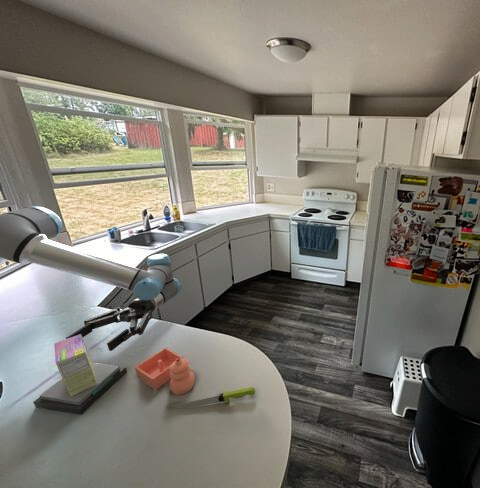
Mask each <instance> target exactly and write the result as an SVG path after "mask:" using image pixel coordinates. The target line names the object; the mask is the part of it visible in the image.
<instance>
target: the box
mask: <svg viewBox="0 0 480 488" xmlns="http://www.w3.org/2000/svg"><path fill="white" fill-rule="evenodd" d="M54 355H55V356H54V357H55V358H54V359H55V365H56V368H57V370H58V371H59V373H60V375H61V379H62V378H63V380H64V382H65V385H66V387H67V390H68V392H69V394H70V397H72V396H74V395H76V394H78V393H80V392H82V391H84V390H86V389H89V388H91V387H93V386H95V385H97V380H96V377H95V373H94V368H93V364H92V363H93V361H92V359H91V356H90V354H89V351H88V349H87V346H86V343H85V341H84V337H83V338H82V335H81V334H80V335H77V336H74V337H71V338H68V339H66V338H65V339H61V340H59V341H57V342H55V343H54Z"/></svg>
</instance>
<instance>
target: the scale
mask: <svg viewBox="0 0 480 488" xmlns="http://www.w3.org/2000/svg"><path fill="white" fill-rule="evenodd" d="M92 364H93V368H94V373H95V377H96V380H97V385H95V386H93V387H91V388H89V389H86V390H84V391H82V392H80V393H78V394H76V395H74V396H72V397H70V394H69V392H68V390H67V387H66V385H65V382H64V380H63V378H62V377H61V379H60V380H58V381H57V382H56V383H54V384H53V385H52V386H50V387H49V388H48V389H46V390H45V391H43V392H42V393H41V394H39V396H38V397H37V398H36V399H35V400H33V404H34V407H35V408H37V409H44V410H49V411H55V412H63V413H68V414H74V415H81V416H83V414H84V413H85V412H86V411H88V409H90V407H92V405H94V404H95V403H97V401H98V400H100V398H101V397H102V396H104V395H105V393H107V392H108V391H109V390H110V389H111V388H112V387H113V386H114V385H115V384H116V383H117V382H118V381H120V380H121V379H122V378H123V377H124V376H125V375H126V374H127V373H128V370H127V367H126V366H118V365H112V364H105V363H97V362H92Z"/></svg>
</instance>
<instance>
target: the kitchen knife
mask: <svg viewBox="0 0 480 488" xmlns="http://www.w3.org/2000/svg"><path fill="white" fill-rule="evenodd" d="M255 393H256V389H255V388H254V387H252V386H251V387H247V388H241V389H236V390H231V391H226V392H223V393H222V392H221V393H219V395H216V396H209V397H205V398H201V399H196V400H191V401H186V402H181V403H176V404H170V407H172V408H176V409H187V408H193V407H194V408H195V407H201V406H207V405H212V404H219V403H225V404H229V402H230V399H241V398H243V397H246V396H251V397H253V396H255Z"/></svg>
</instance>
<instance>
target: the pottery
mask: <svg viewBox="0 0 480 488" xmlns="http://www.w3.org/2000/svg"><path fill="white" fill-rule="evenodd" d="M189 364H190V362H189V360H188V359H187V358H184V357H183V356H181V355H179V354H178V353H176V352H174V351H172V350H171V349H169V348H168V347H164V348H163V349H161V350H160V351H158V352H157V353H155V354H153V355H152V356H150V357H149V358H147V359H145V360H144V361H142V362H141V363H139V364H138V365H136V366H134V369H135V374H136V376H137V379H138V380H139V381H142V382H143V383H144V384H146V385H147V386H149V387H151V388H152V389H153V390H154V391H156V390H158V389H159V388H160V387H162V386H163V385H165V384H166V383H167V382H168V381H170V382H169V389H170V391H171V392H172V393H173V394H174V395H177V396H179V395H183V394H186V393H188V392H189V391H191V389H193V387H194V385H195V380H196V376H195V374H194V373H193V371H191V366H190V365H189Z"/></svg>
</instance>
